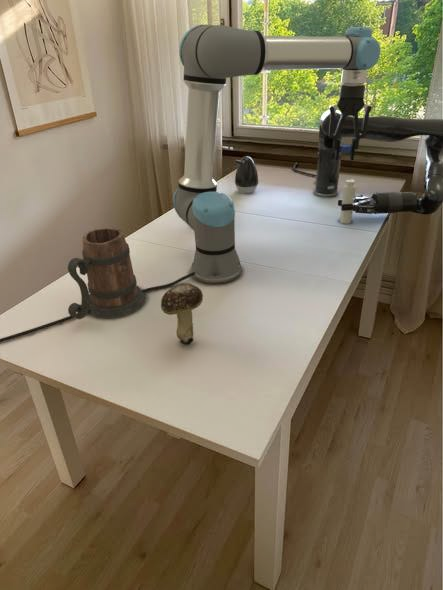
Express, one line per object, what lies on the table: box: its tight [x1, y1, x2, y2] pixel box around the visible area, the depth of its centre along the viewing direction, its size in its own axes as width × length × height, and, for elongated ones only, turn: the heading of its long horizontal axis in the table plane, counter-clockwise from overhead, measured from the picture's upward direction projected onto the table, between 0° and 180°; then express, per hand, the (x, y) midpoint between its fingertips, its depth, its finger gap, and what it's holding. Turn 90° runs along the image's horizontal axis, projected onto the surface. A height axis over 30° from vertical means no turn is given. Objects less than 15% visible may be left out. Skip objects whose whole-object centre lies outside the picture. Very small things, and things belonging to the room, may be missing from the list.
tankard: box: [67, 227, 147, 320], centre depth 116 cm, size 24×17×20 cm
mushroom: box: [160, 282, 204, 346], centre depth 103 cm, size 9×9×15 cm
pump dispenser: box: [234, 155, 259, 194], centre depth 191 cm, size 10×10×15 cm
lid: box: [339, 143, 353, 154], centre depth 150 cm, size 4×4×2 cm
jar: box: [339, 179, 357, 225], centre depth 160 cm, size 4×4×15 cm
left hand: (344, 159), depth 152 cm, fingers closed on lid, 4 cm apart
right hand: (339, 205), depth 161 cm, fingers closed on jar, 4 cm apart
